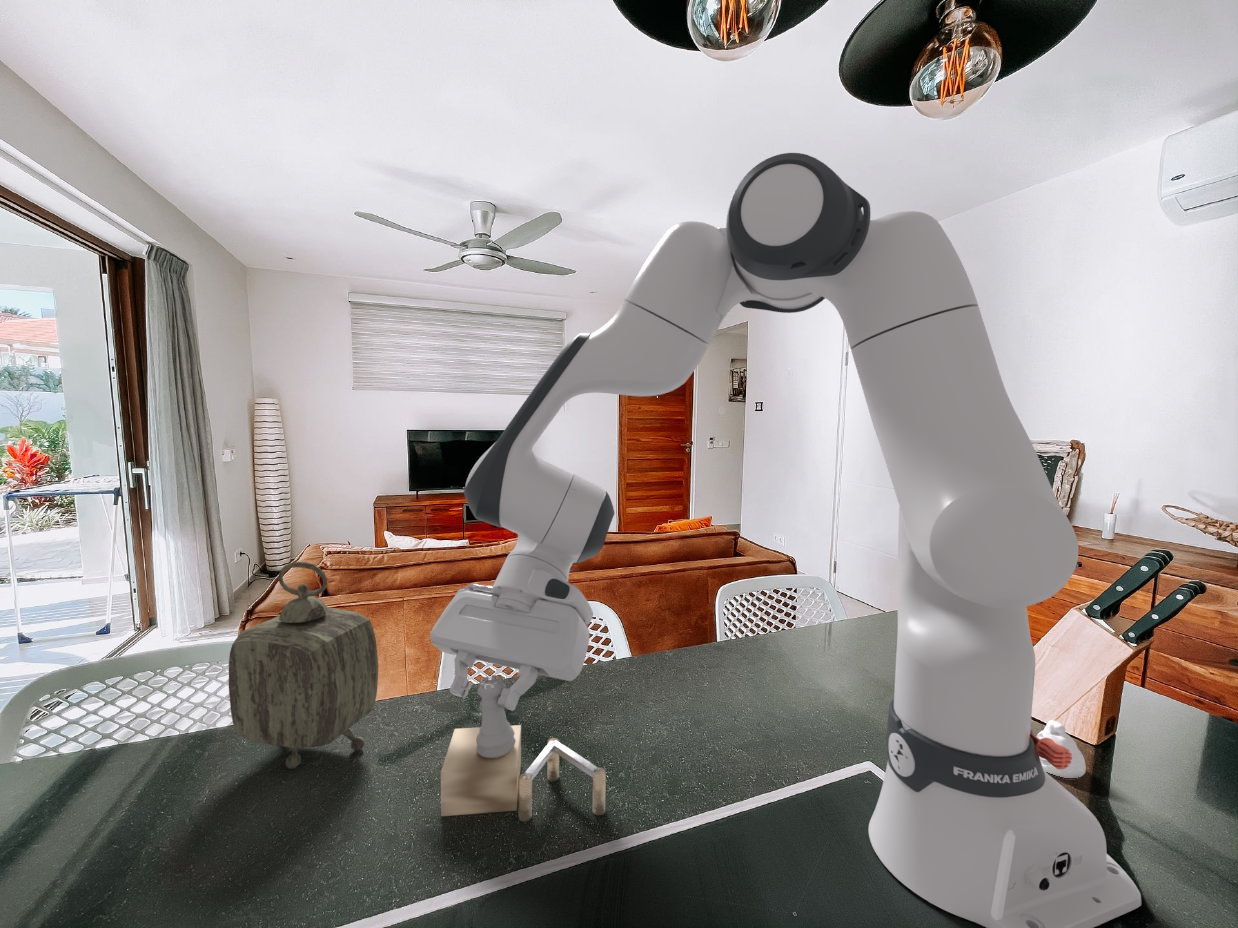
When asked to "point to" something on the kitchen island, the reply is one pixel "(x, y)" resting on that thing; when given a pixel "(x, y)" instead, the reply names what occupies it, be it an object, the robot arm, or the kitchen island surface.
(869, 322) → the robot arm
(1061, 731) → the garlic bulb
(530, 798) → the railing
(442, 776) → the pedestal
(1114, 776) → the kitchen island surface
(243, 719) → the tabletop clock
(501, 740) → the rook chess piece
